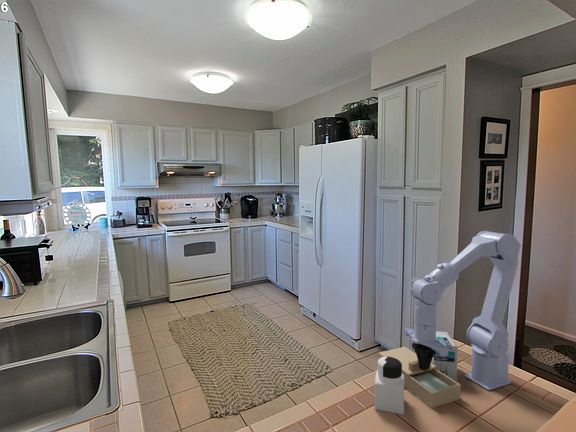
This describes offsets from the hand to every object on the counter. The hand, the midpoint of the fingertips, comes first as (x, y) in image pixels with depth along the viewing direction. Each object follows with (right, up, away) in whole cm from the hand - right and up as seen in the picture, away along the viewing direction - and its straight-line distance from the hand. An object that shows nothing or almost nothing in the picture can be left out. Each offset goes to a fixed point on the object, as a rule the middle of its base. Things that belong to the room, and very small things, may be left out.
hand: (424, 369), depth 92 cm
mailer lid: (-3, -1, +7) cm, 7 cm away
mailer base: (+1, -6, -1) cm, 6 cm away
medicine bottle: (-12, -6, -7) cm, 15 cm away
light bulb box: (+9, -5, +9) cm, 13 cm away
